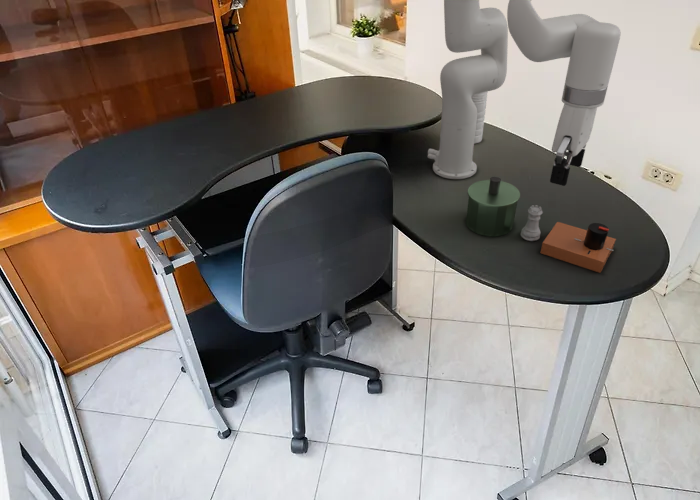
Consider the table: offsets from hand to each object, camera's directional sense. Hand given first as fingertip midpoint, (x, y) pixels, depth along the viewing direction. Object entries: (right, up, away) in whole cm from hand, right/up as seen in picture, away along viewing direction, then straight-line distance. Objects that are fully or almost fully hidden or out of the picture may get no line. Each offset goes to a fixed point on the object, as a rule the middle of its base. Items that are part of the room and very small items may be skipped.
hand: (565, 174), depth 106 cm
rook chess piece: (-3, -13, +13) cm, 19 cm away
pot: (-11, -10, +18) cm, 23 cm away
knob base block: (+6, -16, +8) cm, 19 cm away
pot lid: (-11, -3, +13) cm, 18 cm away
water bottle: (-5, +20, +57) cm, 61 cm away
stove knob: (+8, -15, +5) cm, 18 cm away
